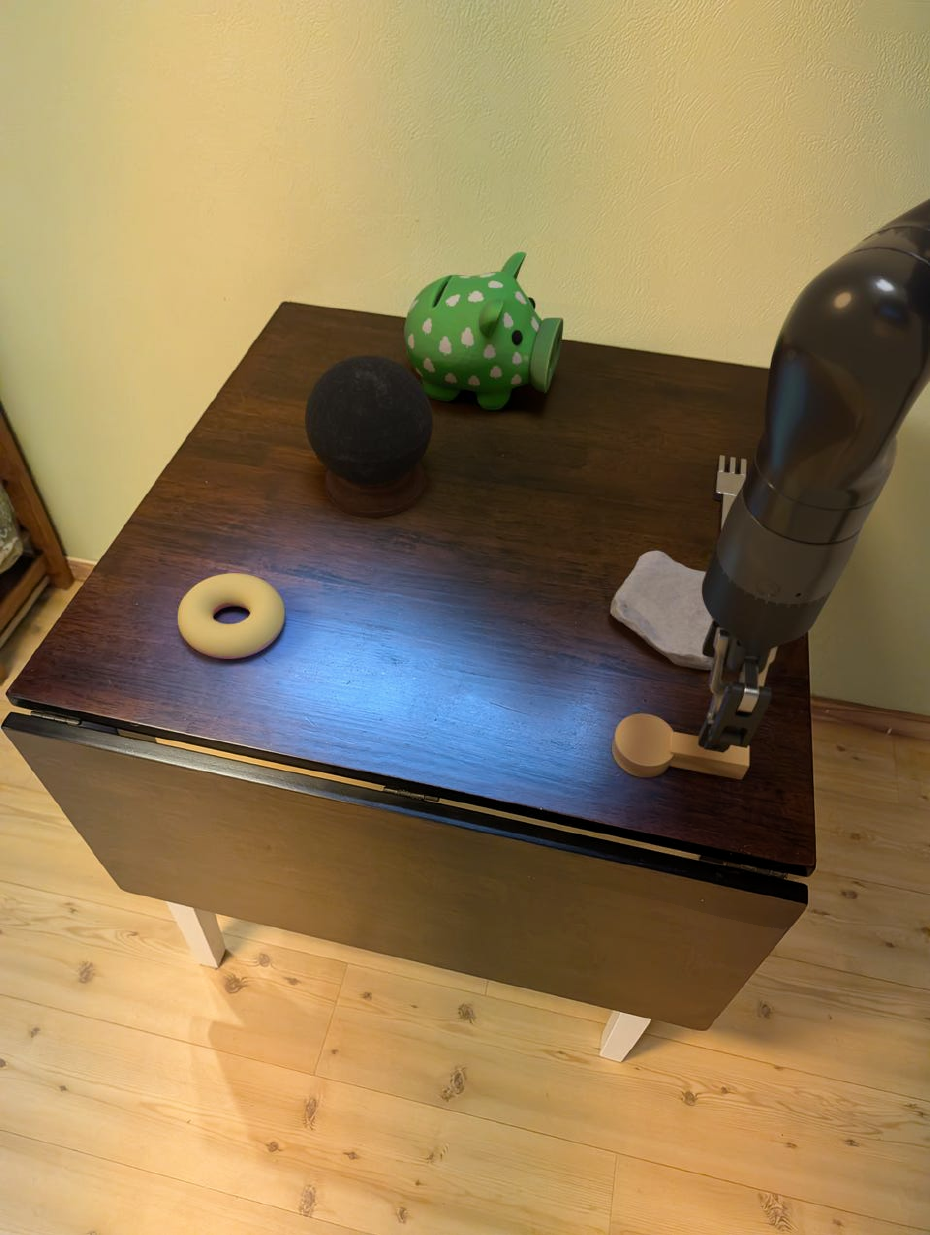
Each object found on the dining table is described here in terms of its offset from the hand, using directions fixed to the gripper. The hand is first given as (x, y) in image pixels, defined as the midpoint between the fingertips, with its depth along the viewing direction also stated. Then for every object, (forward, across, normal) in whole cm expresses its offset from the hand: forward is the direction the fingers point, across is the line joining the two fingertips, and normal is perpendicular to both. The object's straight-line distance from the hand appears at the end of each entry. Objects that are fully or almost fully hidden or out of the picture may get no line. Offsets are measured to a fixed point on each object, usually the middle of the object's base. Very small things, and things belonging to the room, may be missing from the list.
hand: (713, 697), depth 65 cm
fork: (+10, +33, -3) cm, 34 cm away
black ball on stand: (+10, +28, +36) cm, 46 cm away
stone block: (+10, +15, +2) cm, 18 cm away
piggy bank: (+10, +48, +28) cm, 56 cm away
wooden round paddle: (+10, 0, 0) cm, 10 cm away
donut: (+10, +5, +43) cm, 45 cm away
